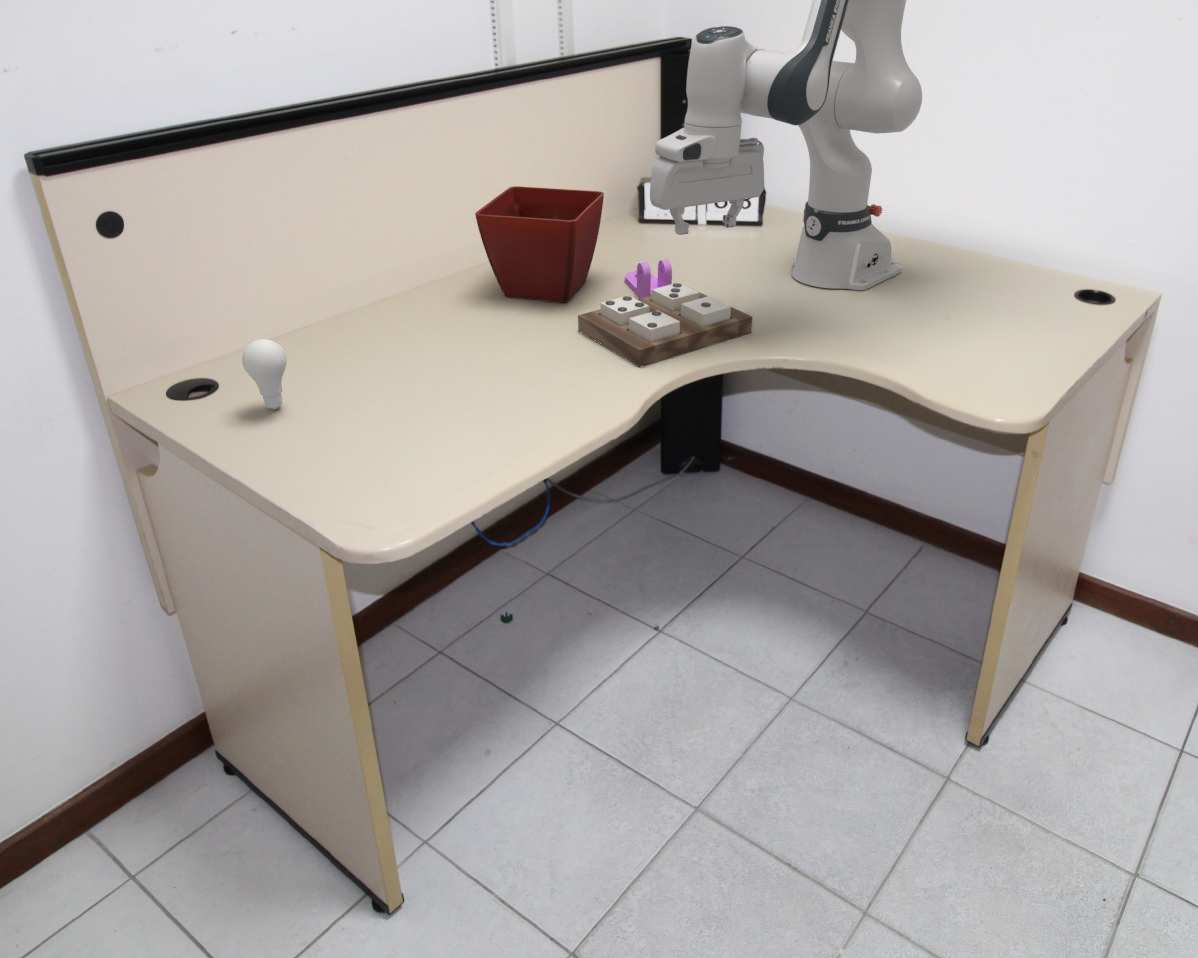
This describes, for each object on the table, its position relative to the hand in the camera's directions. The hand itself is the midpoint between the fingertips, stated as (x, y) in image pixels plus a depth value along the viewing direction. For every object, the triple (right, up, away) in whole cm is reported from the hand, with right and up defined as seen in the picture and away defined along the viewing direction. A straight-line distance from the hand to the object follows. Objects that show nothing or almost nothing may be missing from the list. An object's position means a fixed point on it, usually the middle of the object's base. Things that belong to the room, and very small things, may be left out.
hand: (705, 230), depth 157 cm
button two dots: (-8, -17, +3) cm, 19 cm away
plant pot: (-28, -4, +28) cm, 40 cm away
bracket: (-8, -4, +28) cm, 30 cm away
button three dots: (-4, -10, +14) cm, 18 cm away
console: (-6, -15, +10) cm, 19 cm away
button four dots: (-13, -13, +9) cm, 21 cm away
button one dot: (+1, -14, +8) cm, 16 cm away
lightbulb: (-66, -30, -13) cm, 74 cm away
